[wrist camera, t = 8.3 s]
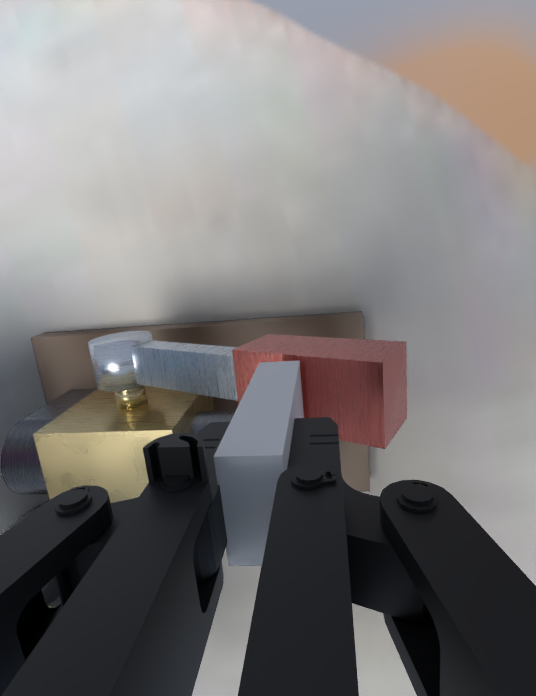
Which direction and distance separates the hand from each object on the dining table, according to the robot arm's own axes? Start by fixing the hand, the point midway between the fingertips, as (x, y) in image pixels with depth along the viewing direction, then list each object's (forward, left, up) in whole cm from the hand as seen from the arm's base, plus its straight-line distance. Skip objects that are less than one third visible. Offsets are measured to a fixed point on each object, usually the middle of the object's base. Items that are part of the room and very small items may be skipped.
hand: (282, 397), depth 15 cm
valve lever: (-11, 0, -7) cm, 13 cm away
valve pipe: (-7, -5, -11) cm, 14 cm away
